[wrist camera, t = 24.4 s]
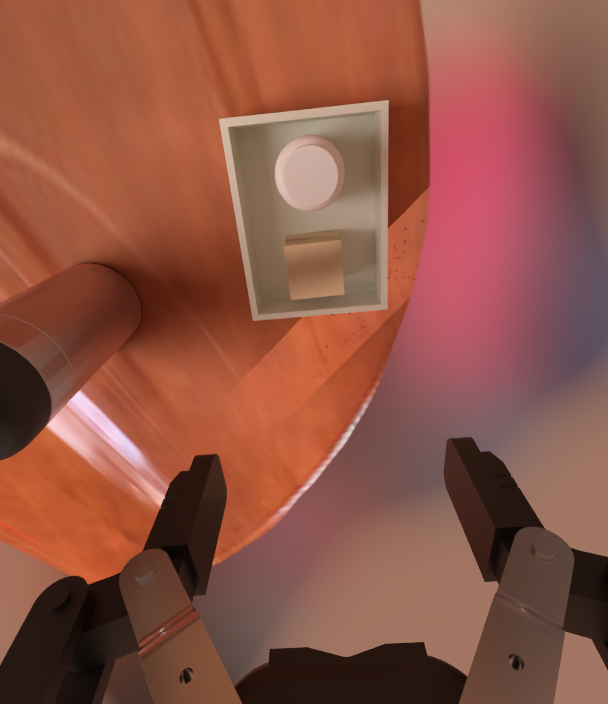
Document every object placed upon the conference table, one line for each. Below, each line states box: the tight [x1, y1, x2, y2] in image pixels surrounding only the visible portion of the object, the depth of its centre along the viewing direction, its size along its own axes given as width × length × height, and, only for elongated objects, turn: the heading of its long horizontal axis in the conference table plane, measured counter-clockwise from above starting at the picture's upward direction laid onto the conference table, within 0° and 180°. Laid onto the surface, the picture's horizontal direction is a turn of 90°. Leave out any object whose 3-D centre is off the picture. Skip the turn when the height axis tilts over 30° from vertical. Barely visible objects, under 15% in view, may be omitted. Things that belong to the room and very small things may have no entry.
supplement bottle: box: [275, 135, 345, 212], centre depth 31 cm, size 5×5×10 cm
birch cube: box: [284, 229, 345, 300], centre depth 37 cm, size 5×5×5 cm
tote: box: [219, 100, 389, 321], centre depth 36 cm, size 17×13×5 cm
